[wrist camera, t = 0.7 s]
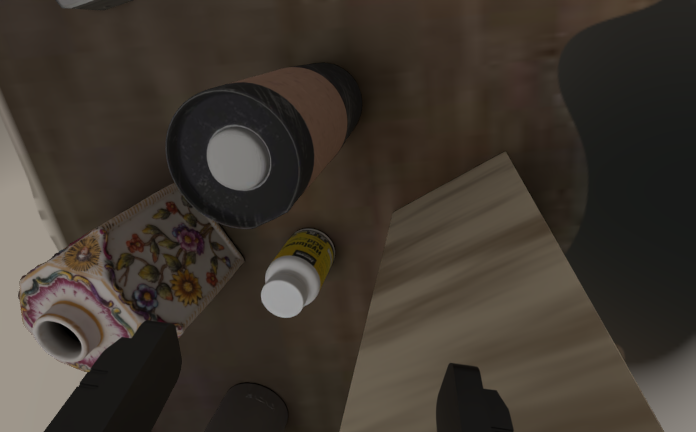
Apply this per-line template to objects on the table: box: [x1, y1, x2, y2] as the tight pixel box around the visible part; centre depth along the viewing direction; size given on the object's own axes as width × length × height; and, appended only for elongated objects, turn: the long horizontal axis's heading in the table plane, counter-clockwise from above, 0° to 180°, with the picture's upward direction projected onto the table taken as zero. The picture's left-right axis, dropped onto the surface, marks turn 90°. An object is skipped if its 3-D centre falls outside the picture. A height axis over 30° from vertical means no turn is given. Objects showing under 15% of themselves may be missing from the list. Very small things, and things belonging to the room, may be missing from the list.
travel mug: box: [166, 63, 362, 229], centre depth 30 cm, size 8×8×20 cm
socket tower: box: [339, 151, 664, 432], centre depth 25 cm, size 10×12×37 cm
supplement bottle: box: [261, 229, 335, 318], centre depth 42 cm, size 5×5×10 cm
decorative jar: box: [18, 183, 244, 372], centre depth 41 cm, size 12×12×18 cm
